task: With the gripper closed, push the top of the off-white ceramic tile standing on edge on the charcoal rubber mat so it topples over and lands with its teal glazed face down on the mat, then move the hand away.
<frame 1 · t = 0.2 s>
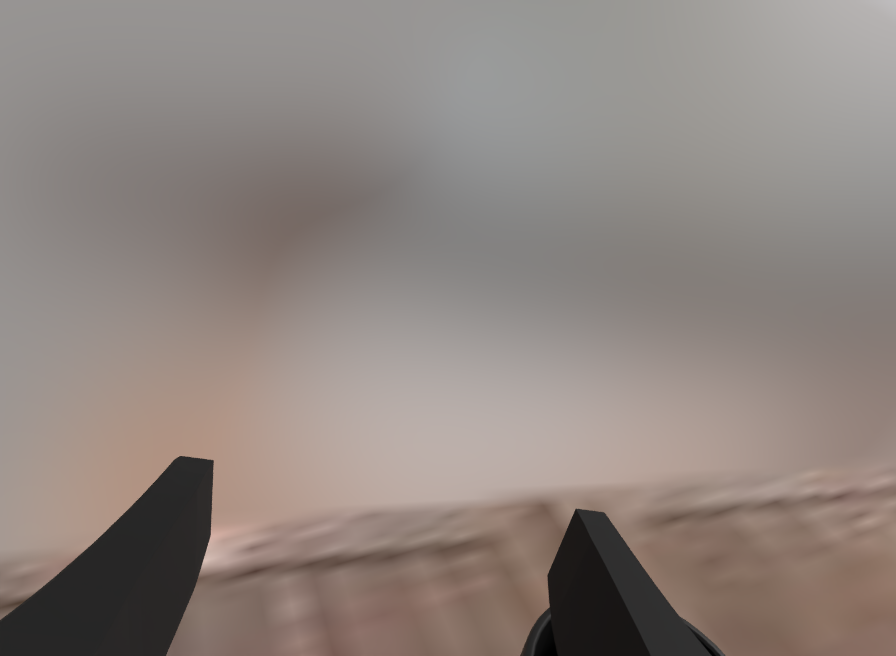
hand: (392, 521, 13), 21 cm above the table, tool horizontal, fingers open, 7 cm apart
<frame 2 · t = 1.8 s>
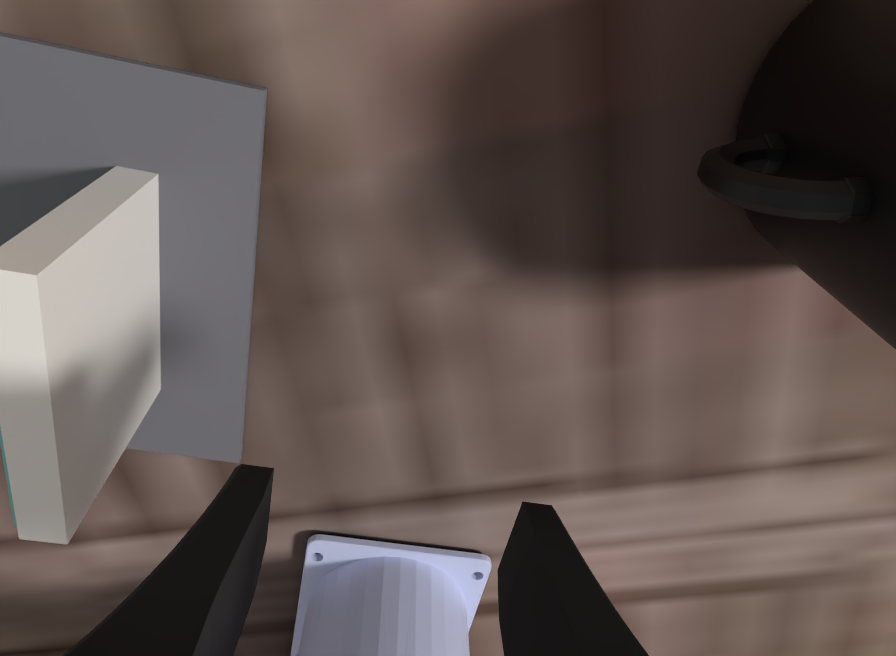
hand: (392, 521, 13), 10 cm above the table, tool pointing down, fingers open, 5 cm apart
mat: (49, 267, 21), on the table
mug: (840, 120, 20), on the table
tile: (140, 288, 21), resting on mat
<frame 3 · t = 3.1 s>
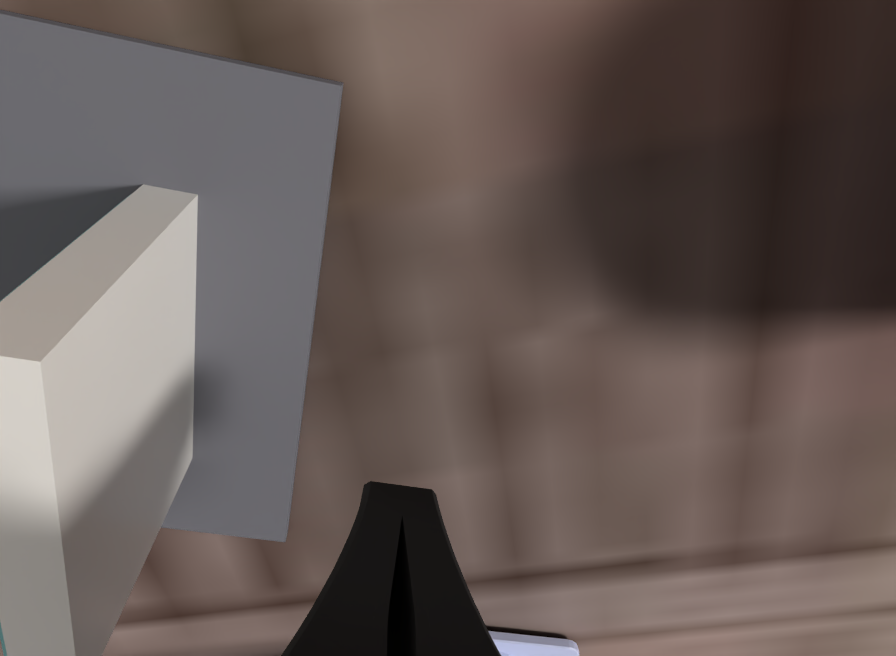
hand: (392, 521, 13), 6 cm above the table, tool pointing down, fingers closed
mat: (55, 310, 17), on the table
tile: (170, 337, 17), resting on mat
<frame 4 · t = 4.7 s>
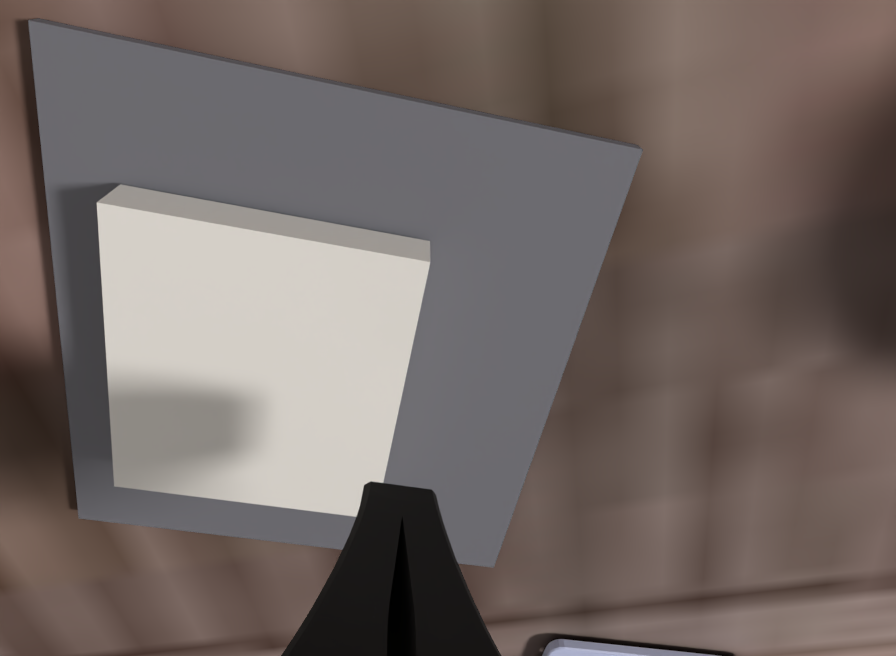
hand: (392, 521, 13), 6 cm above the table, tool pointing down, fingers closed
mat: (320, 353, 17), on the table
tile: (400, 391, 17), point 1 cm above the table, tilted 90°, touching mat
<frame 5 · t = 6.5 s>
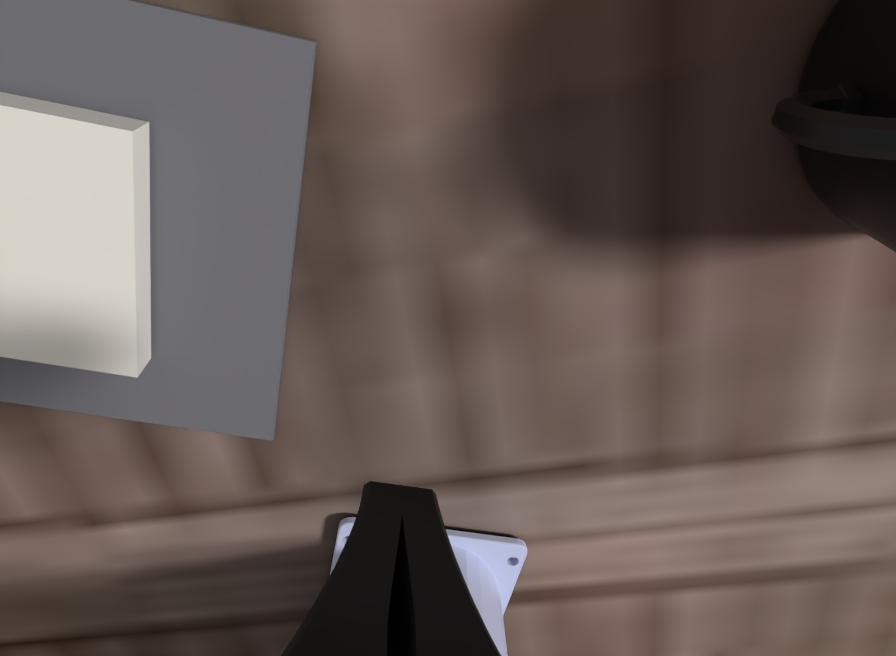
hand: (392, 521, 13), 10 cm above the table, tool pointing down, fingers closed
mat: (84, 230, 20), on the table
tile: (143, 258, 20), point 1 cm above the table, tilted 90°, touching mat
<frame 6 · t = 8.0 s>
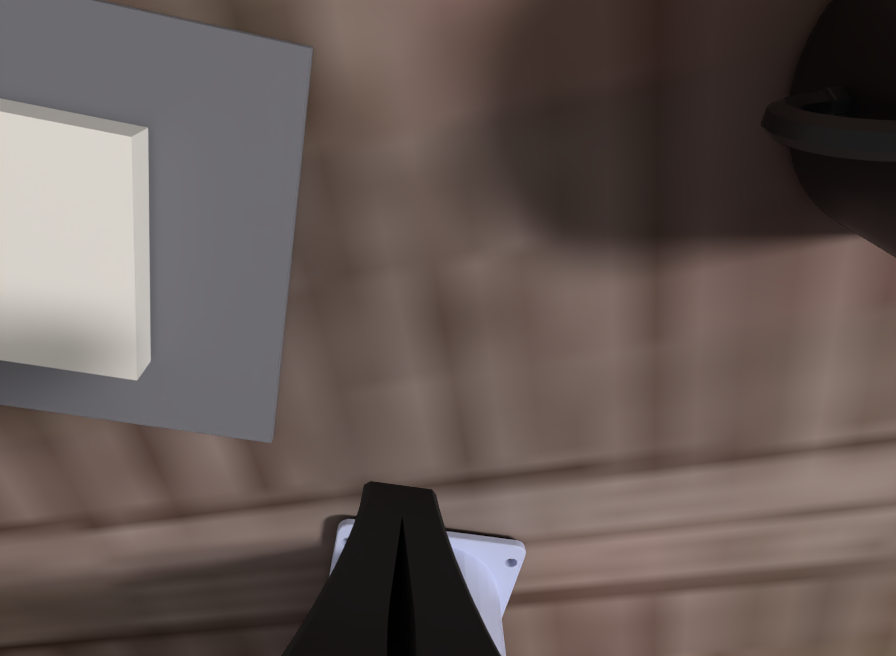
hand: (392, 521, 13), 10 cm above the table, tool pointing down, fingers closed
mat: (84, 235, 21), on the table
mug: (894, 82, 19), on the table
tile: (142, 262, 20), point 1 cm above the table, tilted 90°, touching mat
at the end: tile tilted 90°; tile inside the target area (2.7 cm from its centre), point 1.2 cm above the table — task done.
